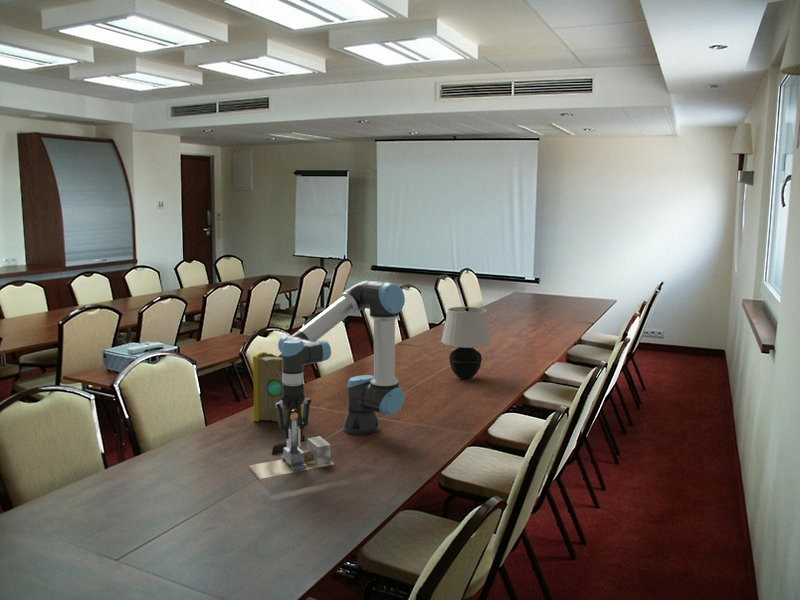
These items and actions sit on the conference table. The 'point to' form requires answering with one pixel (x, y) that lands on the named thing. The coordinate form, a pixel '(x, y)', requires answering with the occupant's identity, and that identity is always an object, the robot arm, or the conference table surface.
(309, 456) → the brown ball
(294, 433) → the ball-top joystick
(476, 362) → the table lamp
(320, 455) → the knob lever base plate
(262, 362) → the decorative book
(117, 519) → the conference table surface
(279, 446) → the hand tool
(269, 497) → the conference table surface
